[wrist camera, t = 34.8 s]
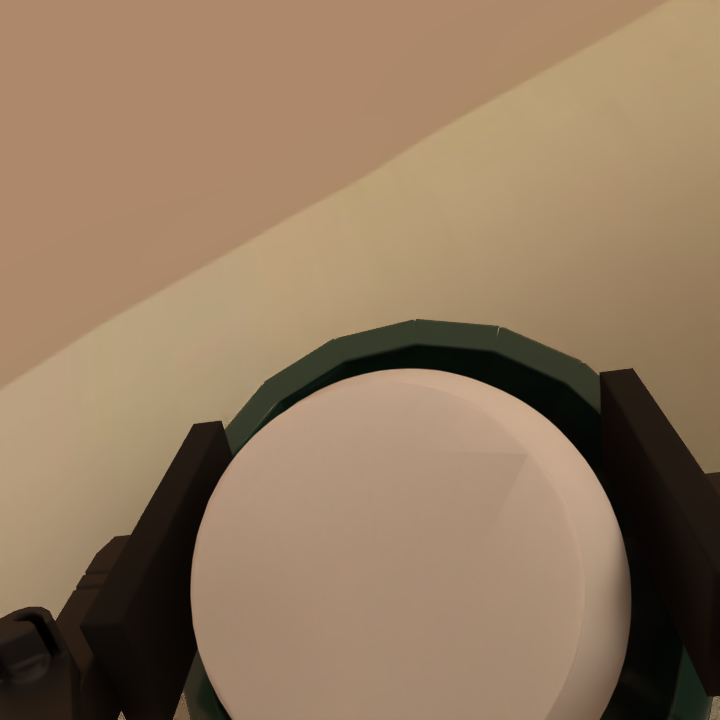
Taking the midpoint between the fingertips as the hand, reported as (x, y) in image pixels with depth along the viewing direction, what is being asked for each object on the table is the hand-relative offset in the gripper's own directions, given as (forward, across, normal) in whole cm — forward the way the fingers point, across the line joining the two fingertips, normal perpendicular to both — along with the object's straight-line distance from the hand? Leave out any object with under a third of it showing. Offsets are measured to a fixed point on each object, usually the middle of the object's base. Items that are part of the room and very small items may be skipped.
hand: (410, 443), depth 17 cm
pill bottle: (+3, 0, +8) cm, 8 cm away
